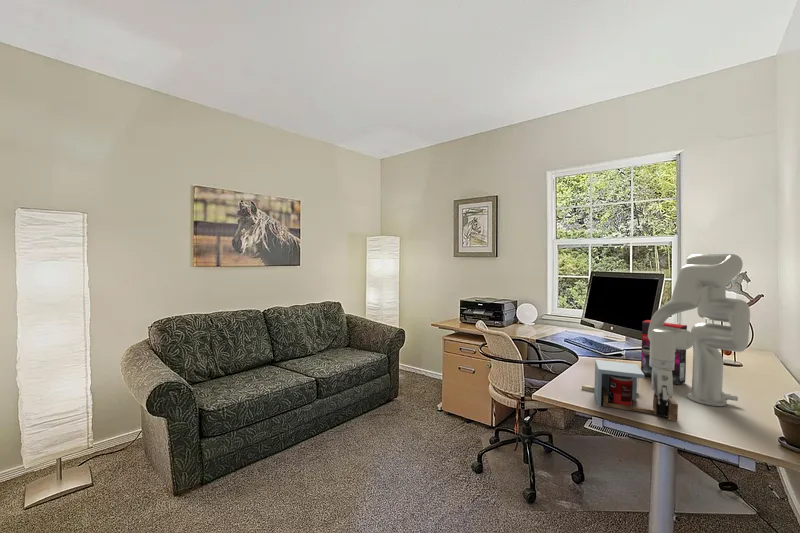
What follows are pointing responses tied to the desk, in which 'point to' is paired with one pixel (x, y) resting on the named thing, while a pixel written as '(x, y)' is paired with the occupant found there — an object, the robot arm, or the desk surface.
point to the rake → (671, 412)
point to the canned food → (620, 390)
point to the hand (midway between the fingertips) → (659, 412)
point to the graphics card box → (680, 355)
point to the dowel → (588, 388)
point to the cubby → (614, 368)
